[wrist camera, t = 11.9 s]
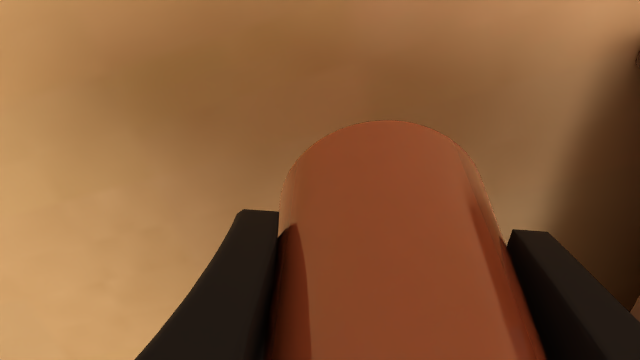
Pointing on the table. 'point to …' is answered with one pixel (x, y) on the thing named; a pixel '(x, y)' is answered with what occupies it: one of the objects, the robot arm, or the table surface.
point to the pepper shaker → (393, 255)
